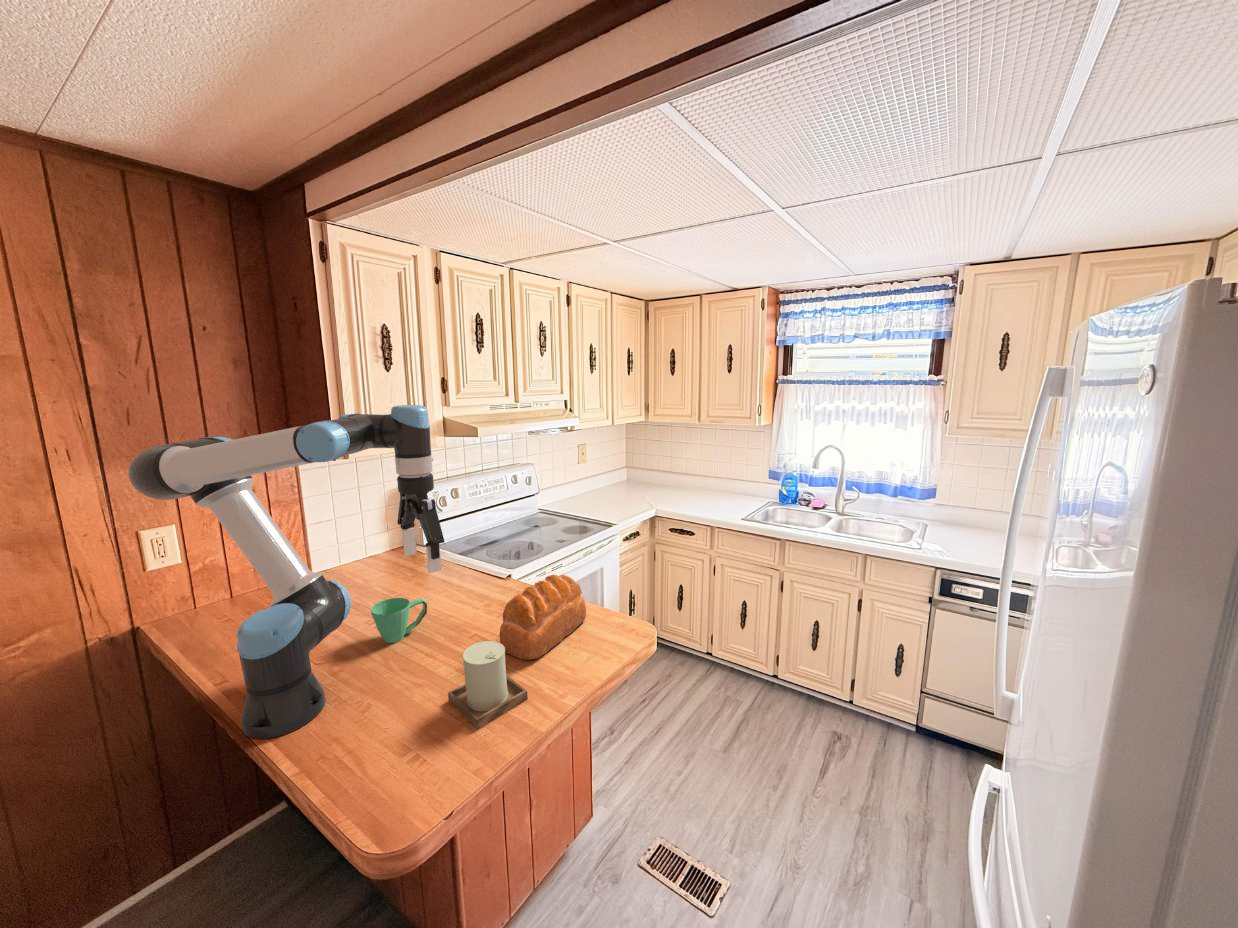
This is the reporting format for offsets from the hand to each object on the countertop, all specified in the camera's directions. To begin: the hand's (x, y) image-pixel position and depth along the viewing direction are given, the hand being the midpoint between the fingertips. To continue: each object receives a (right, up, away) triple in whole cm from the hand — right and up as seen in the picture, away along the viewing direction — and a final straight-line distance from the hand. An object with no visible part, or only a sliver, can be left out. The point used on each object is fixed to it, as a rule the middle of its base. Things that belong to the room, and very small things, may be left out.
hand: (422, 562), depth 112 cm
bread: (+25, -25, +24) cm, 43 cm away
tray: (+16, -31, -3) cm, 35 cm away
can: (+16, -30, -3) cm, 35 cm away
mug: (-15, -26, +24) cm, 39 cm away
